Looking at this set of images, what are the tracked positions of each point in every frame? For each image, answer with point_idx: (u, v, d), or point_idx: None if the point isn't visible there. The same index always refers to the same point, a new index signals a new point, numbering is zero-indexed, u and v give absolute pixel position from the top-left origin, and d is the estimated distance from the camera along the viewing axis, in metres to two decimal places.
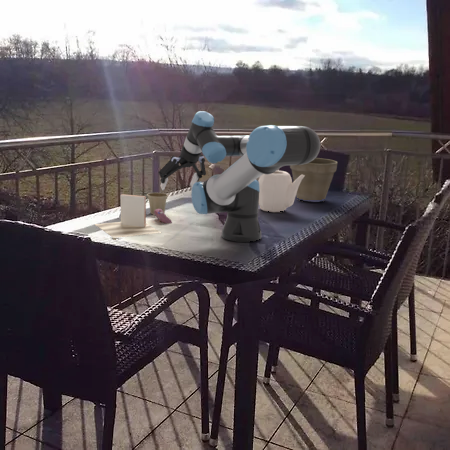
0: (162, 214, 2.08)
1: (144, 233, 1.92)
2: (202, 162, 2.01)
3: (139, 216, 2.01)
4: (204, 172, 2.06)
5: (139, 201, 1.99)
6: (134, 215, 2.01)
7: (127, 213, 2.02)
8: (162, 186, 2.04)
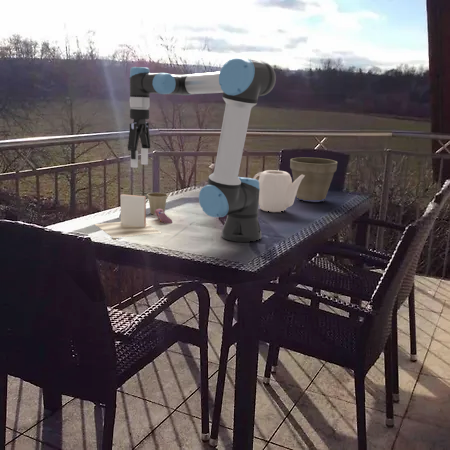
0: (163, 214, 2.08)
1: (144, 233, 1.92)
2: (148, 127, 2.05)
3: (139, 216, 2.01)
4: (149, 141, 2.08)
5: (139, 201, 1.99)
6: (134, 215, 2.01)
7: (127, 213, 2.02)
8: (134, 164, 1.98)
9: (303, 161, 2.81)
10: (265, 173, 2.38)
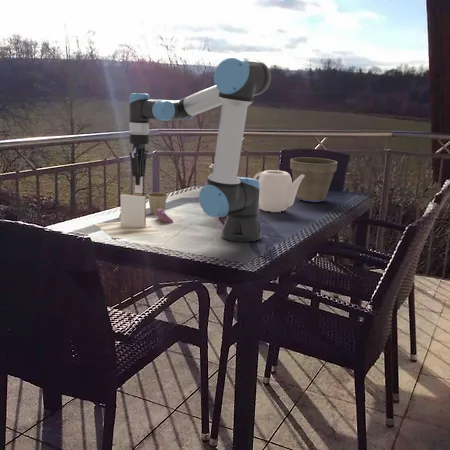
0: (163, 214, 2.08)
1: (144, 233, 1.92)
2: (146, 154, 2.07)
3: (139, 216, 2.01)
4: (144, 169, 2.07)
5: (139, 201, 1.99)
6: (134, 215, 2.01)
7: (127, 213, 2.02)
8: (139, 189, 2.05)
9: (303, 161, 2.81)
10: (265, 173, 2.38)
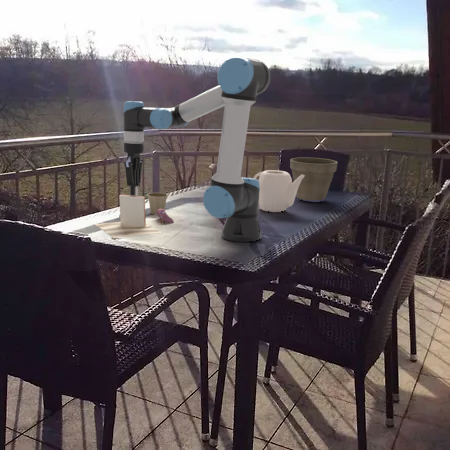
0: (164, 214, 2.08)
1: (144, 233, 1.92)
2: (141, 163, 2.02)
3: (139, 216, 2.00)
4: (140, 178, 2.03)
5: (138, 202, 1.99)
6: (134, 215, 2.01)
7: (127, 213, 2.01)
8: None
9: (303, 161, 2.81)
10: (265, 173, 2.38)
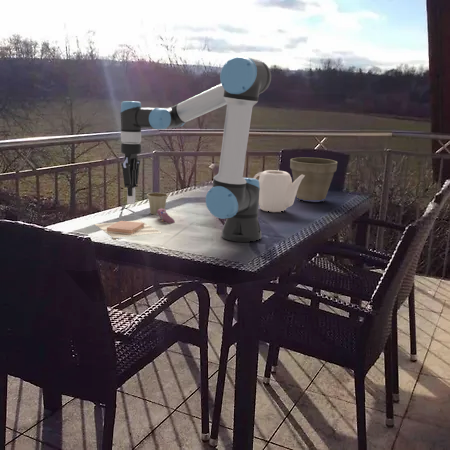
0: (165, 214, 2.09)
1: (144, 233, 1.92)
2: (138, 163, 2.00)
3: None
4: (137, 179, 2.00)
5: None
6: None
7: None
8: (131, 200, 1.98)
9: (303, 161, 2.81)
10: (265, 173, 2.38)
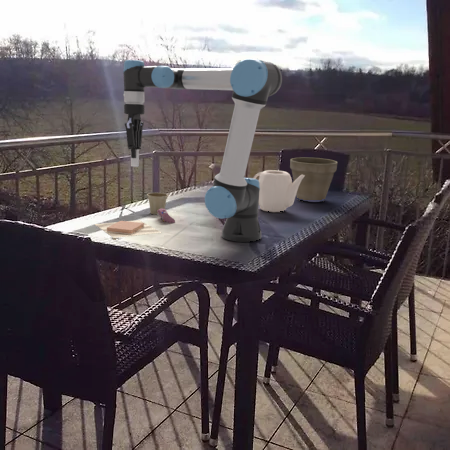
0: (166, 214, 2.09)
1: (144, 233, 1.92)
2: (142, 126, 1.97)
3: None
4: (140, 142, 1.97)
5: None
6: None
7: None
8: (135, 163, 1.95)
9: (303, 161, 2.81)
10: (265, 173, 2.38)
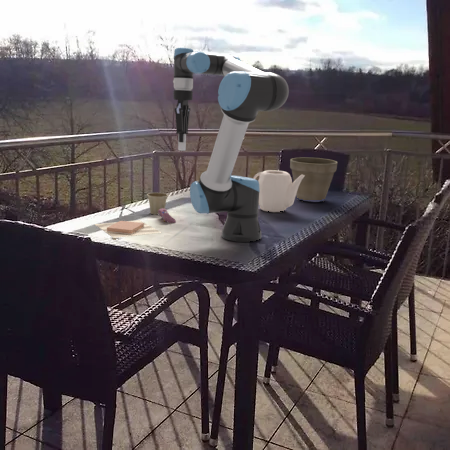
0: (166, 214, 2.09)
1: (144, 233, 1.92)
2: (189, 111, 2.06)
3: None
4: (187, 127, 2.06)
5: None
6: None
7: None
8: (182, 147, 2.04)
9: (303, 161, 2.81)
10: (265, 173, 2.38)
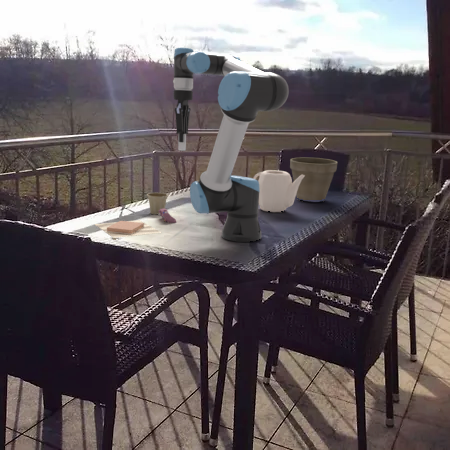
0: (167, 214, 2.09)
1: (144, 233, 1.92)
2: (189, 111, 2.06)
3: None
4: (187, 127, 2.06)
5: None
6: None
7: None
8: (182, 147, 2.04)
9: (303, 161, 2.81)
10: (265, 173, 2.38)
